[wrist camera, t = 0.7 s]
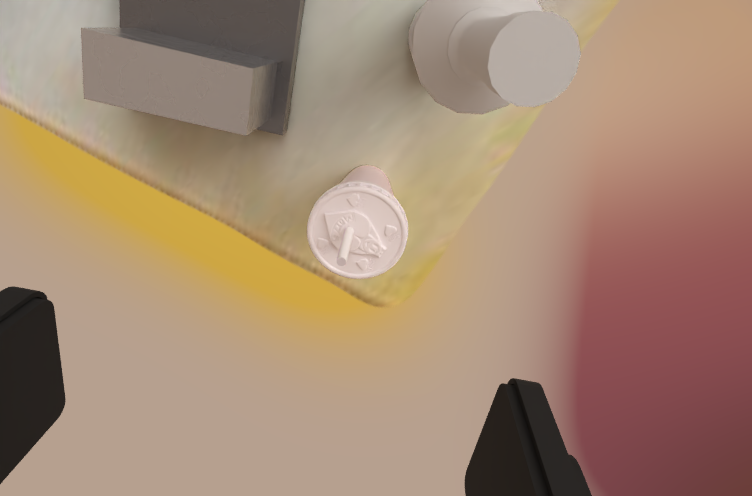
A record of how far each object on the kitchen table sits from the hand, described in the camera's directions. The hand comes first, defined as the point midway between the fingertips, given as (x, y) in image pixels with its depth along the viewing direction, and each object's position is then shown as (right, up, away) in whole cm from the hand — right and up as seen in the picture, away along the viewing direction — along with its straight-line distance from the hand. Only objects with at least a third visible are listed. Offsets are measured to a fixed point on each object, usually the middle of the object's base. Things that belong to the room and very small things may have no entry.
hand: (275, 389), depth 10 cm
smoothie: (+1, +8, +28) cm, 30 cm away
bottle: (+7, +18, +23) cm, 30 cm away
